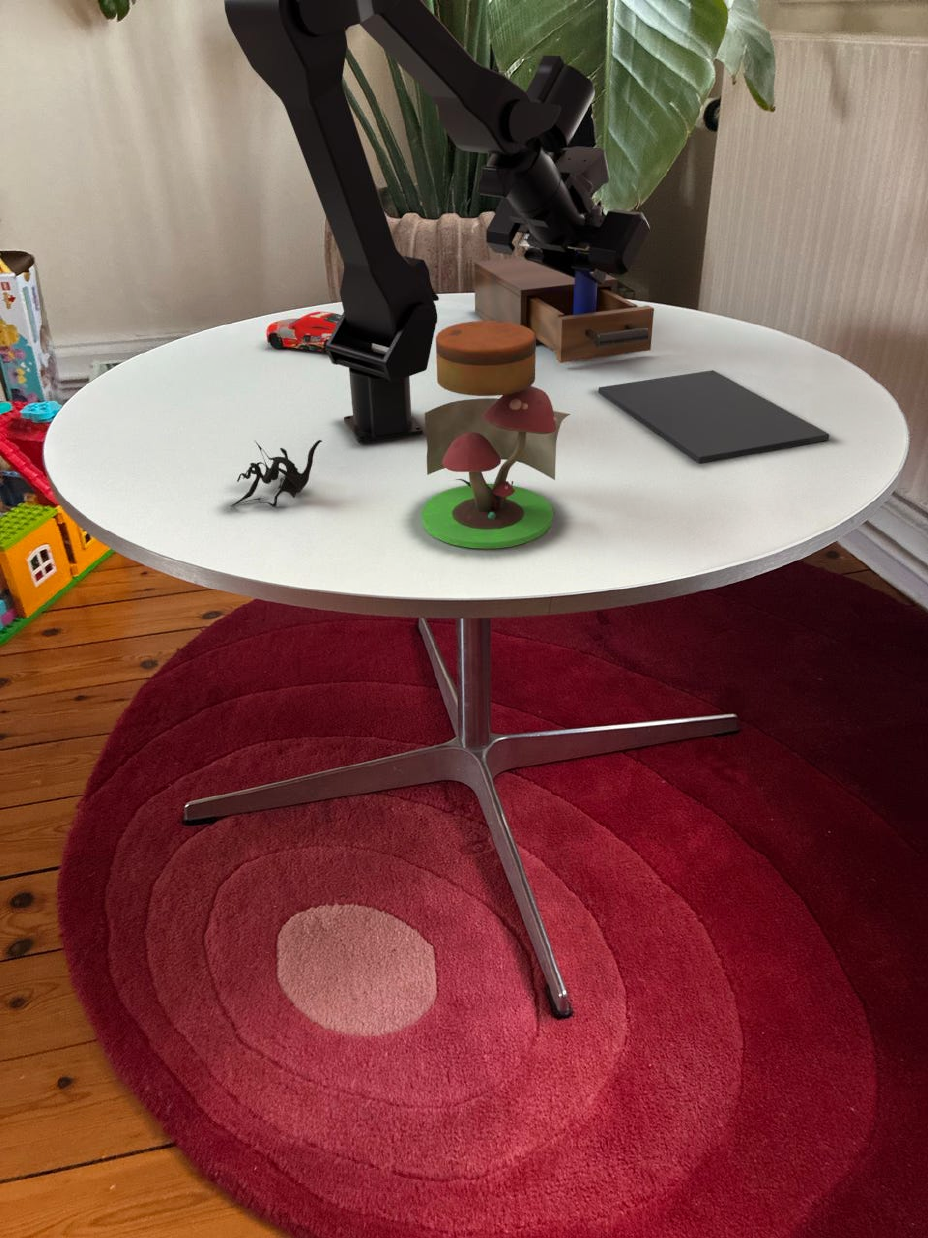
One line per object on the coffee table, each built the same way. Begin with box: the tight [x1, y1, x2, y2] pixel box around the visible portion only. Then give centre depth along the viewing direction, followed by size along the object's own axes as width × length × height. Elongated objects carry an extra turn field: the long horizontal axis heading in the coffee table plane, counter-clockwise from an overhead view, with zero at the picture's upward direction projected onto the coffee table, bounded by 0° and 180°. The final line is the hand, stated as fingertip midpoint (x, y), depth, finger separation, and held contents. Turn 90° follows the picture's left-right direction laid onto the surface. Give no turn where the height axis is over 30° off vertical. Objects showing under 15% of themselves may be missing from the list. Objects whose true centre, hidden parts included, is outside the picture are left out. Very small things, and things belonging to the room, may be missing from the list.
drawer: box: [526, 287, 655, 364], centre depth 113 cm, size 18×11×5 cm, turn 20°
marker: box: [573, 204, 603, 315], centre depth 111 cm, size 3×3×14 cm
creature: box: [230, 439, 324, 508], centre depth 82 cm, size 8×5×8 cm
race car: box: [265, 311, 342, 353], centre depth 117 cm, size 13×5×4 cm, turn 65°
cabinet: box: [473, 256, 618, 345], centre depth 123 cm, size 16×13×7 cm
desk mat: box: [597, 369, 830, 464], centre depth 97 cm, size 20×14×1 cm
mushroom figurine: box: [421, 320, 571, 550], centre depth 75 cm, size 12×13×15 cm
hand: (593, 278), depth 112 cm, fingers closed on marker, 2 cm apart
